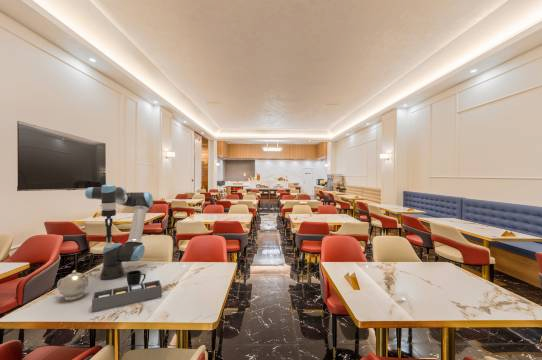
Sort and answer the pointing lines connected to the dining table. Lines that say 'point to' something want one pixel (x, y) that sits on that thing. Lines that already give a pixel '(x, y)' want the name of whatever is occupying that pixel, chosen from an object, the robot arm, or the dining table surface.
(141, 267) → the dining table surface
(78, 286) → the teapot
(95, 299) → the compartment tray
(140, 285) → the key
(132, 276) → the mug
